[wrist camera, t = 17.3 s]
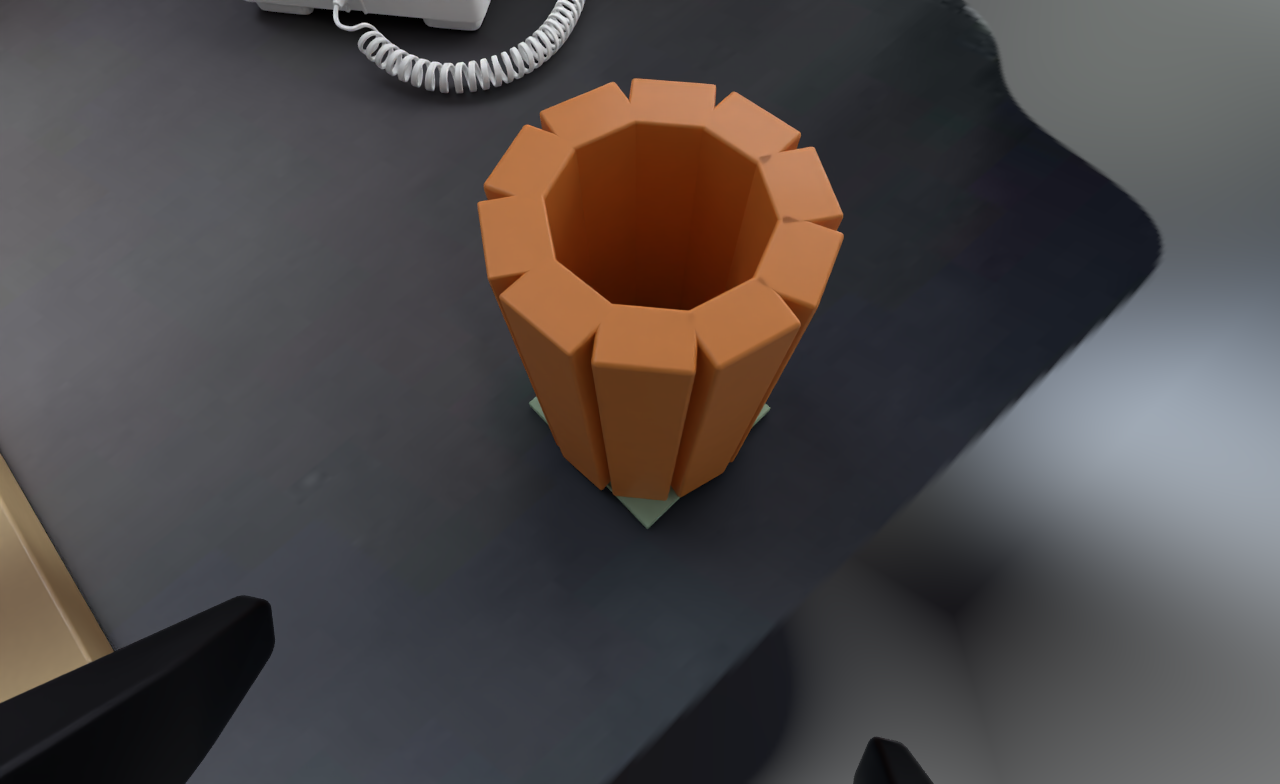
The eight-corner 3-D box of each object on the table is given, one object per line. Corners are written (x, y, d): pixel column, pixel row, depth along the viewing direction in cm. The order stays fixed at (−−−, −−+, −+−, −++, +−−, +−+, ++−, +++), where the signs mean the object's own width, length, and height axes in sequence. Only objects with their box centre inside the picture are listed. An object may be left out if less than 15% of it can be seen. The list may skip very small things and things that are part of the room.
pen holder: (746, 510, 18) (850, 389, 9) (533, 487, 18) (438, 350, 10) (753, 325, 21) (839, 92, 12) (564, 308, 21) (511, 67, 12)
